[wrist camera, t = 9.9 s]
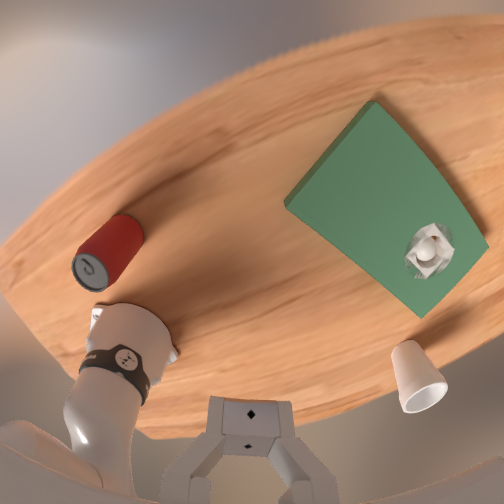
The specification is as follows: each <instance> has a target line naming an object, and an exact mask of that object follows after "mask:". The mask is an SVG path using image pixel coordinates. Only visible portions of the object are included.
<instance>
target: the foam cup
mask: <svg viewBox="0 0 504 504" xmlns="http://www.w3.org/2000/svg"><path fill="white" fill-rule="evenodd" d="M391 358H392V362H393V366H394V371H395V376H396V380H397V385H398V390H399V395H400V396H399V400H400V403H401V406H402V409H403V412H406V413H416V412H420V411H422V410H425V409H427V408H429V407H431V406H432V405H434V404H436V403H437V402H438V401H439V400H440V399H441V398H442V397H443V396H444V395H445V393H446V391H447V383H446V381H445V379H444V377H443V375H441V374H440V373H439V371H438V370H437V368H436V367H435V366H434V364H433V363H432V361H431V360H430V359H429V357H428V356H427V355H426V353H425V352H424V351H423V349H422V348H421V347H420V345H419V344H418V343H417V342H416V341H415V340H407V341H404V342H402V343H400V344H399V345H397V346H396V347H395V348H394V350H393V351H392V354H391Z"/></svg>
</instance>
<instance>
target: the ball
mask: <svg viewBox="0 0 504 504" xmlns="http://www.w3.org/2000/svg"><path fill="white" fill-rule="evenodd" d="M436 251H437V246H436V242H435V241H434V239H433V238H432V237H428V238H426V239H425V240H424V241H423V242H422V243H421V244H420V245H419V247H418V250H417V252H416V257H417V258H418V259H419V260H421V261H428V260H430V259H432V258H433V257H434V256H435V254H436Z"/></svg>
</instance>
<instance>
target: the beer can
mask: <svg viewBox="0 0 504 504" xmlns="http://www.w3.org/2000/svg"><path fill="white" fill-rule="evenodd" d="M143 239H144V238H143V231H142V229H141V227H140V225H139V224H138V223H137V221H136V220H134V219H133V218H132V217H129V216H127V215H116V216H113V217H112V218H111V219H110V220H109V221H107V222H106V223H105V224H104V225H103V226H102V227H101V228H100V229H98V230H97V231H96V232H95V233H94V234H93V235H92V236H91V237H90V238H89V239H87V240H86V241H85V242H84V243H83V244H82V245H81V246H80V247H79V248H78V250H77V253H76V255H75V257H74V258H73V261H72V272H73V275H74V277H75V279H76V281H77V282H78V283H79V284H80V285H81V286H82V287H83V288H85V289H86V290H89V291H91V292H102V291H103V290H105V289H106V288H108V287H109V286H111V285H112V284H113V283H115V282H116V281H117V279H118V278H119V277H120V275H121V274H122V272H123V271H124V270H125V268H126V267H127V265H128V264H129V263H130V261H131V260H132V259H133V257H134V256H135V255H136V253H137V252H138V251H139V249H140V248H141V246H142V244H143Z"/></svg>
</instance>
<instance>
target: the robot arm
mask: <svg viewBox="0 0 504 504" xmlns="http://www.w3.org/2000/svg"><path fill="white" fill-rule="evenodd" d="M86 342H87V345H86V349H87V355H86V357H85V358H84V360H83V361H82V364H81V366H80V369H79V376H78V378H77V380H76V382H75V384H74V386H73V388H72V390H71V392H70V394H69V396H68V398H67V400H66V402H65V405H64V419H65V422H66V425H67V427H68V430H69V433H70V436H71V441H72V450H70V449H69V448H68V447H67V446H65V445H64V444H63V443H62V442H61V441H59V440H58V439H56V438H55V437H53V436H51V435H50V434H48V433H46V432H44V431H43V430H41V429H40V428H38V427H36V426H34V425H33V424H31V423H29V422H27V421H22V420H20V421H13V422H9V423H7V424H5V425H3V426H2V427H1V428H0V504H210V491H211V481H210V480H209V479H207V478H205V477H206V476H207V475H208V474H209V473H210V471H211V470H212V469H213V468H214V466H215V465H216V464H217V463H218V461H219V460H220V459H221V458H222V456H223V455H241V456H260V457H267V459H268V460H269V461H270V463H271V464H272V466H273V467H274V468H275V470H276V471H277V473H278V474H279V476H280V477H281V478H282V480H283V481H284V482H285V484H286V485H287V487H288V488H289V489H288V490H287V491H286V492H285V493H284V494H283V495H282V496H281V497H280V498H279V500H278V504H340V500H339V493H338V487H337V482H336V477H335V476H334V475H333V474H332V473H331V472H330V471H329V469H328V468H327V467H326V466H325V465H324V464H323V463H322V462H321V461H320V460H319V459H318V458H317V457H316V456H315V455H314V454H313V452H312V451H311V450H310V449H309V448H308V447H307V446H306V445H305V443H304V442H303V441H302V440H301V439H300V438H298V437H295V430H294V421H293V413H292V404H291V402H290V401H276V400H251V399H250V400H247V399H235V398H225V397H217V396H210V399H209V408H208V417H207V426H206V433H203V432H202V433H201V434H200V435H199V436H198V437H197V438H196V439H195V440H194V441H193V442H192V443H191V444H190V445H189V447H187V448H186V449H185V450H184V451H183V452H182V453H181V454H180V455H179V456H178V457H177V458H176V459H175V460H174V461H173V462H172V463H171V464H170V465H169V466H168V467H167V468H166V469H165V470H164V472H163V478H162V484H161V490H160V496H159V502H153V501H148V500H144V499H140V498H137V495H136V493H135V490H134V486H133V481H132V473H131V458H130V450H131V440H132V435H133V432H134V428H135V424H136V420H137V417H138V413H139V410H140V407H141V406H143V405H144V403H145V400H146V399H147V397H148V393H149V389H150V388H151V386H154V385H156V384H157V383H159V382H160V381H161V379H162V376H163V373H164V371H165V368H166V366H168V365H169V364H171V363H173V362H174V361H176V360H177V358H178V353H177V351H176V349H175V348H174V347H173V345H172V342H171V336H170V333H169V331H168V329H167V327H166V326H165V325H164V323H163V322H162V321H161V320H160V319H159V318H158V317H157V316H155V315H154V314H153V313H151V312H150V311H148V310H146V309H144V308H142V307H139V306H137V305H133V304H128V303H118V304H114V305H110V306H105V305H95V306H94V307H93V309H92V316H91V325H90V333H89V334H88V336H87V338H86ZM359 504H504V458H502V457H500V456H495V457H492V458H490V459H488V460H486V461H484V462H482V463H480V464H478V465H476V466H474V467H472V468H469V469H467V470H465V471H463V472H460V473H458V474H456V475H453V476H451V477H448V478H446V479H443V480H440V481H438V482H435V483H432V484H430V485H427V486H424V487H421V488H417V489H414V490H411V491H408V492H404V493H401V494H397V495H394V496H390V497H386V498H382V499H377V500H373V501H368V502H364V503H359Z"/></svg>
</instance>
